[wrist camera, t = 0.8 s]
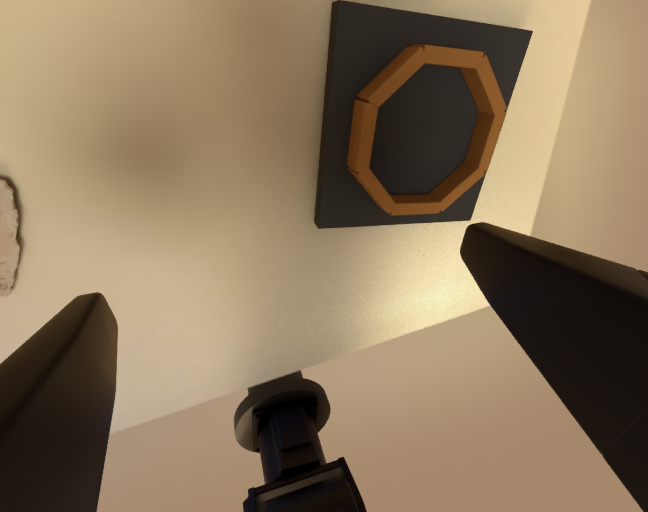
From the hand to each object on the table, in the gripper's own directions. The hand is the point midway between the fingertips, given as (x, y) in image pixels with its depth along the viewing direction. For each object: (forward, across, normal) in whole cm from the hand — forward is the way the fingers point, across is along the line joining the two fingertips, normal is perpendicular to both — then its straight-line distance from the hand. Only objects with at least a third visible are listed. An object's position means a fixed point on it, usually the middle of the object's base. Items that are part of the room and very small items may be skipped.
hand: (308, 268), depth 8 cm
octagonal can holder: (+13, -10, +2) cm, 17 cm away
